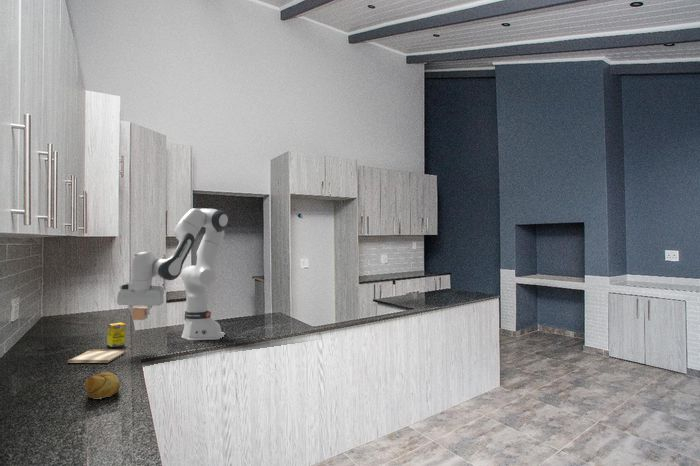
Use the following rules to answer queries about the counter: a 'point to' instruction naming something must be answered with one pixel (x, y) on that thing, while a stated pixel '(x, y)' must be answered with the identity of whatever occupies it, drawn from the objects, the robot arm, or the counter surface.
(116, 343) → the supplement box
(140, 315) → the cube
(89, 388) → the bread roll
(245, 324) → the counter surface
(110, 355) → the board
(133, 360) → the counter surface
